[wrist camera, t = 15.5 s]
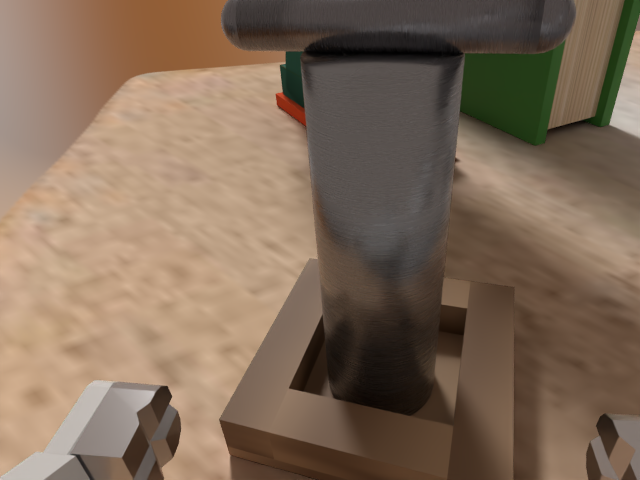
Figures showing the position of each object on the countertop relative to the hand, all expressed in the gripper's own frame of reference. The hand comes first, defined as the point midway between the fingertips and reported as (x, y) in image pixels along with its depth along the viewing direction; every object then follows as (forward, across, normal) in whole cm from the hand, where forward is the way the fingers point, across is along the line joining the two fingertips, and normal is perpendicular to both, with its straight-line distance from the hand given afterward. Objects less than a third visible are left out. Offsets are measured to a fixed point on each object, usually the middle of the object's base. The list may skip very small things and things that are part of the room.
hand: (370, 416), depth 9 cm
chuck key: (+7, 0, -7) cm, 10 cm away
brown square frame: (+7, 0, -7) cm, 10 cm away
